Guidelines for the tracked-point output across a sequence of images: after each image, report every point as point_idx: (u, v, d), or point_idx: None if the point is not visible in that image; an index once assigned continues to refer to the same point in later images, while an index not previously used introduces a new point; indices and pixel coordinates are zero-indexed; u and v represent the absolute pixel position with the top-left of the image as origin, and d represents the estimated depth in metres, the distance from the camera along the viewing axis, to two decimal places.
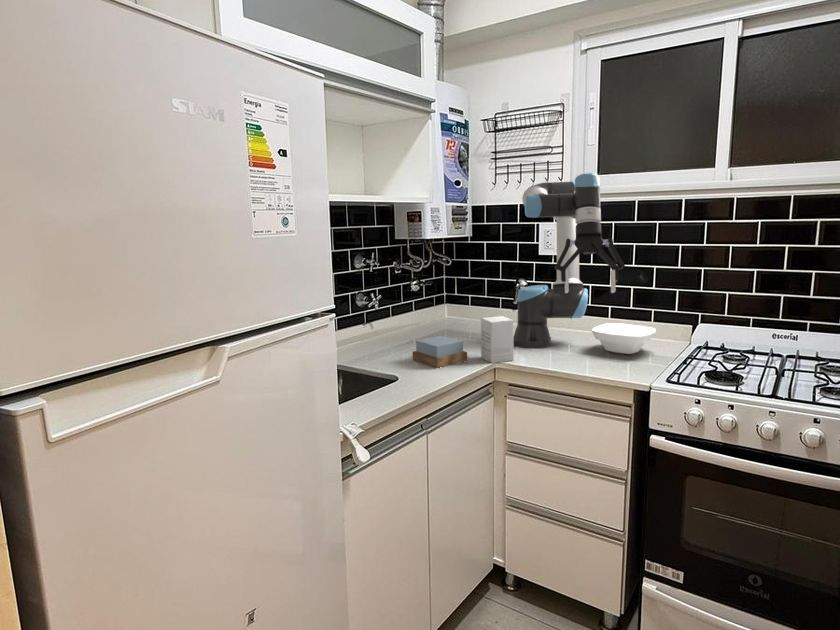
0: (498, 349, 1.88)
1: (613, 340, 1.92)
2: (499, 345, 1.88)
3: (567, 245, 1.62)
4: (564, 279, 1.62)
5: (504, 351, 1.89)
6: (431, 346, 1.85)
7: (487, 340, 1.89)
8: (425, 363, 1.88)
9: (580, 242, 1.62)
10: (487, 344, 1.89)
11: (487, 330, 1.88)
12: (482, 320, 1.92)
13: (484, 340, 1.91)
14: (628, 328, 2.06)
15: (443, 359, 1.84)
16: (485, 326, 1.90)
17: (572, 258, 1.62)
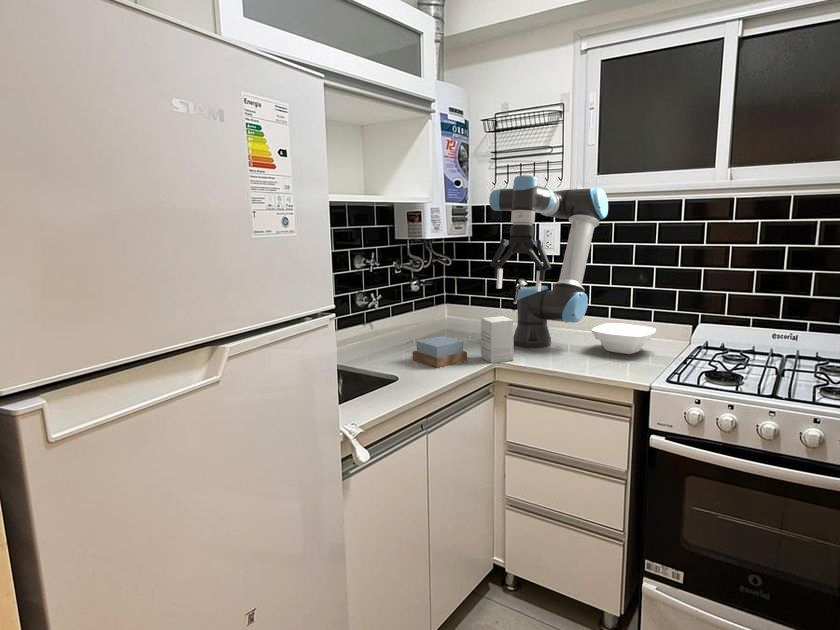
0: (498, 349, 1.88)
1: (613, 340, 1.92)
2: (499, 345, 1.88)
3: (501, 245, 1.77)
4: (496, 276, 1.79)
5: (504, 351, 1.89)
6: (431, 346, 1.85)
7: (487, 340, 1.89)
8: (425, 363, 1.88)
9: (512, 243, 1.75)
10: (487, 344, 1.89)
11: (487, 330, 1.88)
12: (482, 320, 1.92)
13: (484, 340, 1.91)
14: (628, 328, 2.06)
15: (443, 359, 1.84)
16: (485, 326, 1.90)
17: (504, 258, 1.76)
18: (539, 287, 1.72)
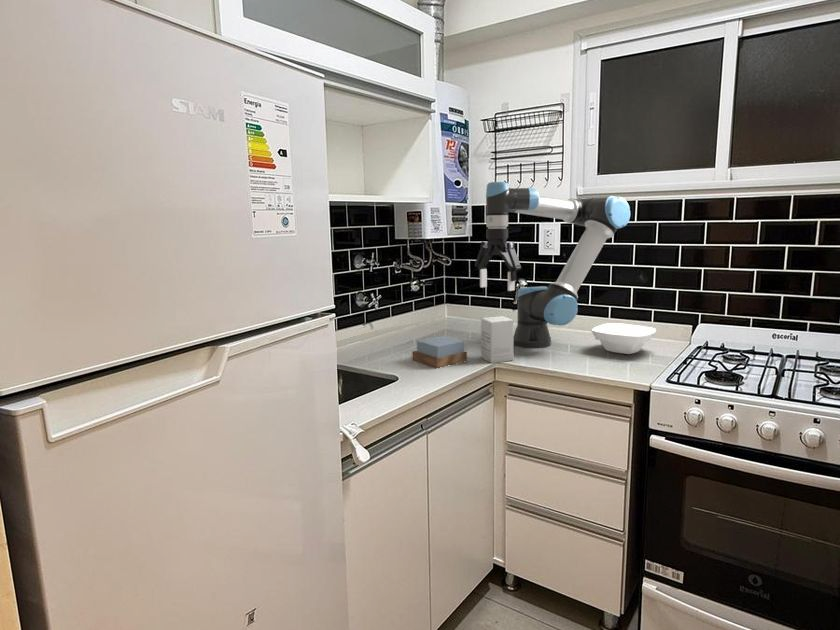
0: (498, 349, 1.88)
1: (613, 340, 1.92)
2: (499, 345, 1.88)
3: (481, 247, 1.90)
4: None
5: (504, 351, 1.89)
6: (432, 346, 1.85)
7: (487, 340, 1.89)
8: (425, 363, 1.88)
9: (489, 245, 1.87)
10: (487, 344, 1.89)
11: (487, 330, 1.88)
12: (482, 320, 1.92)
13: (484, 340, 1.91)
14: (628, 328, 2.06)
15: (443, 359, 1.84)
16: (485, 326, 1.90)
17: (484, 259, 1.90)
18: (511, 287, 1.83)
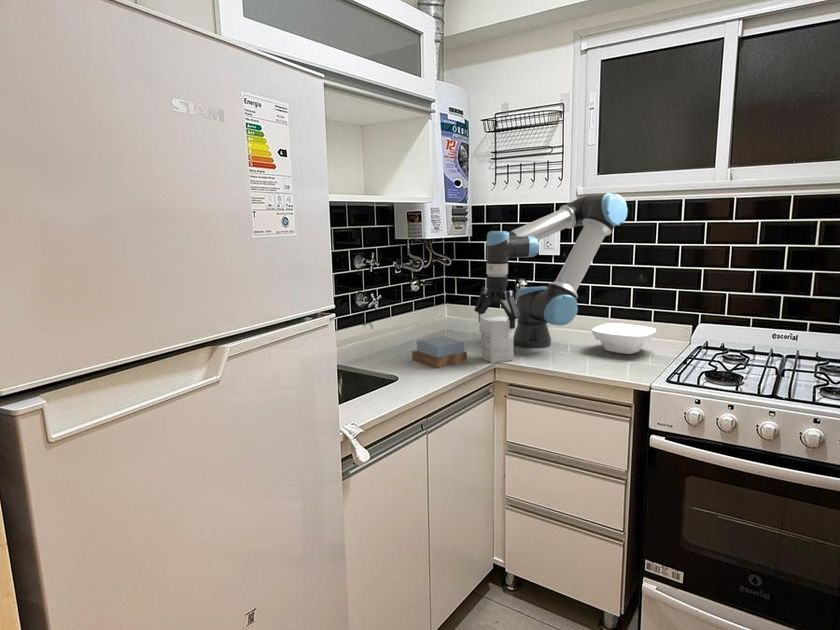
0: (498, 349, 1.88)
1: (613, 340, 1.92)
2: (499, 345, 1.88)
3: (481, 293, 1.93)
4: (480, 321, 1.96)
5: (504, 351, 1.89)
6: (431, 346, 1.85)
7: (487, 340, 1.89)
8: (425, 363, 1.88)
9: (489, 292, 1.90)
10: (487, 344, 1.89)
11: (487, 330, 1.88)
12: (482, 320, 1.92)
13: (484, 340, 1.91)
14: (628, 328, 2.06)
15: (443, 359, 1.84)
16: (485, 326, 1.90)
17: (484, 305, 1.93)
18: (510, 334, 1.86)
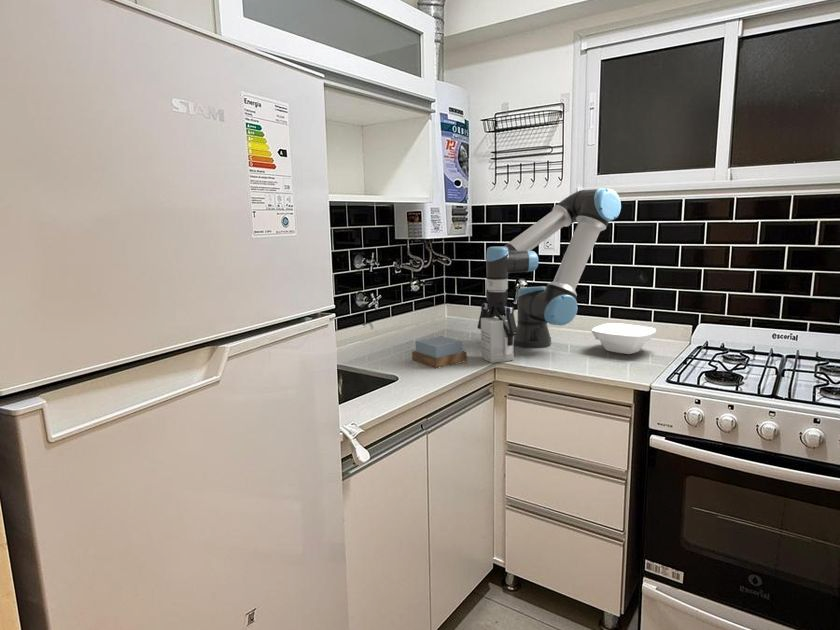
0: (498, 349, 1.88)
1: (613, 340, 1.92)
2: (499, 345, 1.88)
3: (482, 309, 1.94)
4: None
5: (503, 351, 1.89)
6: (430, 346, 1.85)
7: (487, 339, 1.89)
8: (424, 363, 1.88)
9: (489, 306, 1.91)
10: (487, 344, 1.89)
11: (487, 330, 1.88)
12: (482, 320, 1.92)
13: (484, 339, 1.91)
14: (628, 328, 2.06)
15: (442, 359, 1.84)
16: (485, 326, 1.90)
17: None
18: (508, 351, 1.88)
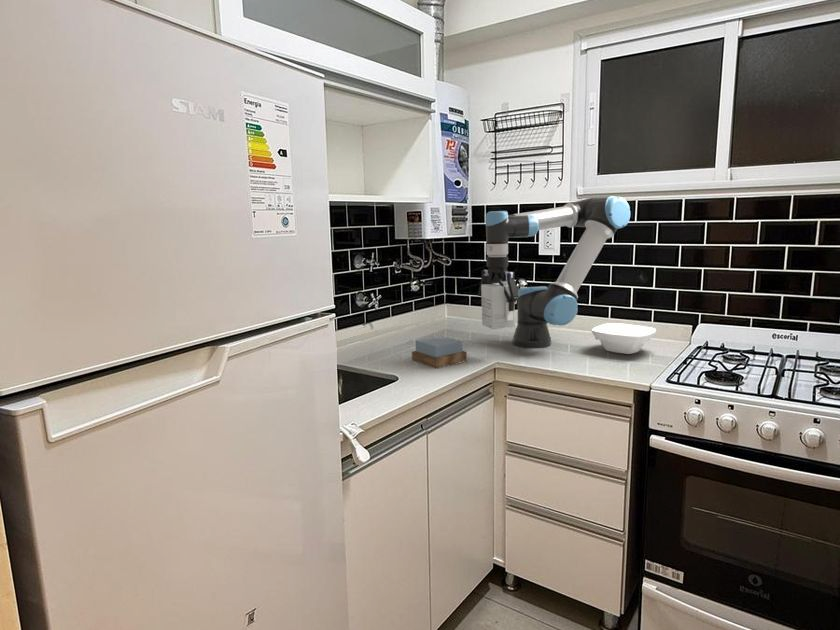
0: (499, 315, 1.86)
1: (613, 340, 1.92)
2: (500, 311, 1.85)
3: (482, 276, 1.92)
4: None
5: (505, 317, 1.86)
6: (430, 346, 1.86)
7: (487, 306, 1.87)
8: (424, 363, 1.88)
9: (490, 272, 1.89)
10: (488, 310, 1.87)
11: (488, 296, 1.86)
12: (482, 286, 1.90)
13: (485, 306, 1.89)
14: (628, 328, 2.06)
15: (442, 359, 1.84)
16: (485, 292, 1.88)
17: None
18: (510, 316, 1.86)
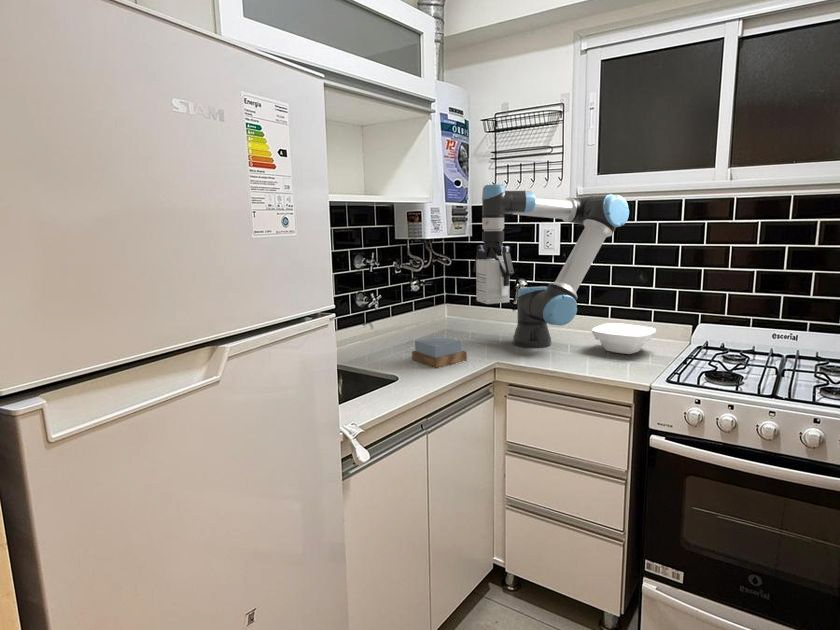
0: (494, 289, 1.84)
1: (613, 340, 1.92)
2: (495, 285, 1.84)
3: (477, 251, 1.90)
4: None
5: (499, 292, 1.85)
6: (429, 346, 1.86)
7: (482, 280, 1.85)
8: (424, 363, 1.88)
9: (485, 247, 1.87)
10: (483, 285, 1.85)
11: (483, 271, 1.84)
12: (477, 261, 1.88)
13: (480, 281, 1.87)
14: (628, 328, 2.06)
15: (442, 359, 1.84)
16: (480, 267, 1.86)
17: None
18: (504, 291, 1.84)
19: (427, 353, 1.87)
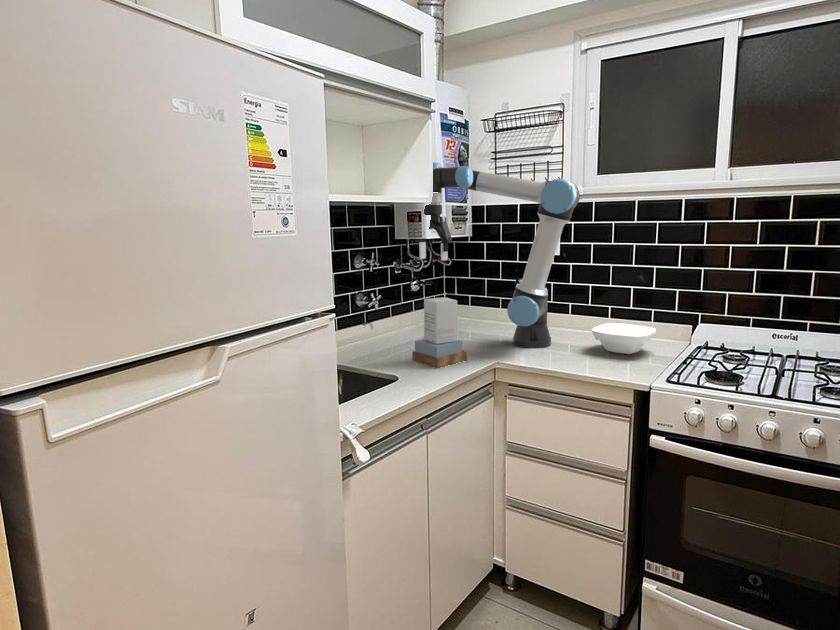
0: (442, 329, 1.86)
1: (613, 340, 1.92)
2: (443, 325, 1.86)
3: None
4: None
5: (448, 332, 1.87)
6: (430, 346, 1.85)
7: (431, 320, 1.87)
8: (425, 363, 1.88)
9: None
10: (432, 325, 1.86)
11: (432, 311, 1.85)
12: (425, 301, 1.89)
13: (428, 321, 1.88)
14: (628, 328, 2.06)
15: (443, 359, 1.84)
16: (429, 307, 1.87)
17: None
18: (444, 257, 2.04)
19: (428, 353, 1.87)
